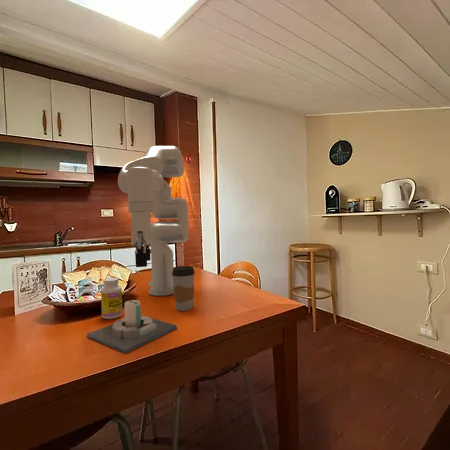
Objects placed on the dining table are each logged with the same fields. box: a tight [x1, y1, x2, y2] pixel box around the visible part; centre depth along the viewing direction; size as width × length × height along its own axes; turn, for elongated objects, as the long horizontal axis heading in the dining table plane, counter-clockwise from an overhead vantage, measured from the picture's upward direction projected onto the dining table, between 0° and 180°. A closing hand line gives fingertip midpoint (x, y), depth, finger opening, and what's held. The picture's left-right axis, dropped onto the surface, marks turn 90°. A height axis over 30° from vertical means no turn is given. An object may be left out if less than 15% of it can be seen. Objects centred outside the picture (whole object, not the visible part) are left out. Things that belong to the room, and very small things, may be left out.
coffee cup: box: [172, 265, 195, 312], centre depth 103 cm, size 8×8×15 cm
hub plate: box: [86, 314, 178, 354], centre depth 83 cm, size 18×18×3 cm
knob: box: [124, 299, 142, 329], centre depth 82 cm, size 5×4×8 cm
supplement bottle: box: [100, 277, 123, 320], centre depth 97 cm, size 7×7×13 cm
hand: (143, 263), depth 87 cm, fingers open, 9 cm apart
